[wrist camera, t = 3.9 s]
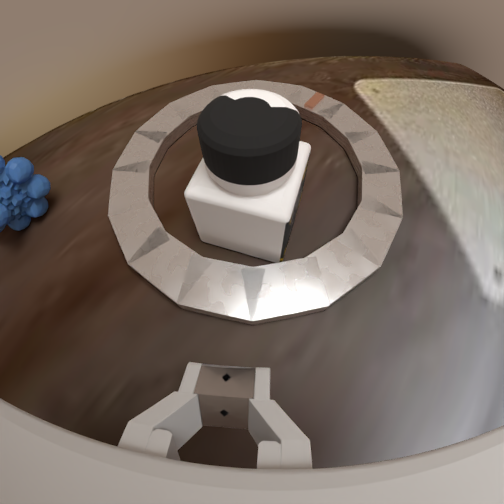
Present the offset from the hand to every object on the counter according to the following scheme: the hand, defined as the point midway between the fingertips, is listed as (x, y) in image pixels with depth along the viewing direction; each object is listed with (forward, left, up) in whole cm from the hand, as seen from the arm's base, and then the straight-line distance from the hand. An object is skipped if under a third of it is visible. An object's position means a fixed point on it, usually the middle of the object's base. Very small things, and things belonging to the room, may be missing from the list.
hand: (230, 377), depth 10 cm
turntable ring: (-10, +16, -11) cm, 22 cm away
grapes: (-28, -3, -11) cm, 30 cm away
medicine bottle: (-7, +11, -11) cm, 18 cm away
